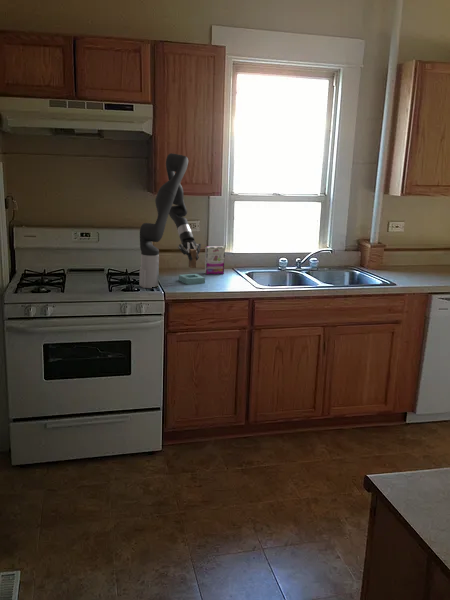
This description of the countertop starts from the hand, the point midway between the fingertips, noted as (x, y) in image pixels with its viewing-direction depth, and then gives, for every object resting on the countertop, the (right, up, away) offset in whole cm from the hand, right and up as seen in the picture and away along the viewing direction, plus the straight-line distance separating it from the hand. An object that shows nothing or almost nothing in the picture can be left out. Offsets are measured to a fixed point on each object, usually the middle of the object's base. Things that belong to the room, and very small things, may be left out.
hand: (194, 259), depth 311 cm
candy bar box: (+10, -6, +30) cm, 32 cm away
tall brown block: (-1, -4, +3) cm, 5 cm away
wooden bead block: (-2, -12, +5) cm, 13 cm away
